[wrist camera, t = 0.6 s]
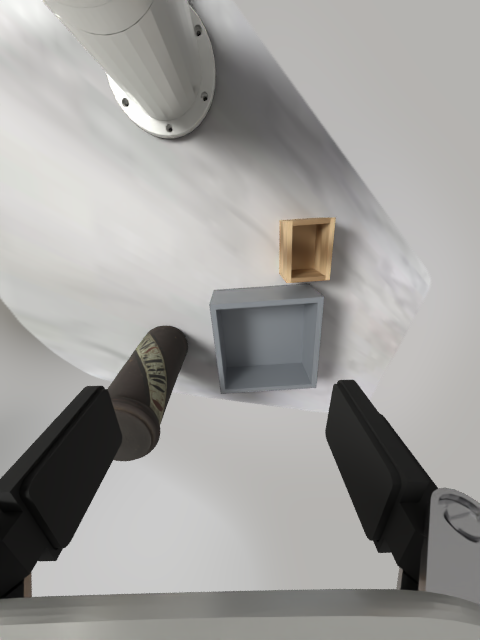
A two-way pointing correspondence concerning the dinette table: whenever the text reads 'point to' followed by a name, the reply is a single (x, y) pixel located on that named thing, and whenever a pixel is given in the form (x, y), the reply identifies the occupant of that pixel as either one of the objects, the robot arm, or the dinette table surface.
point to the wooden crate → (306, 249)
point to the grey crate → (267, 337)
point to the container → (146, 390)
